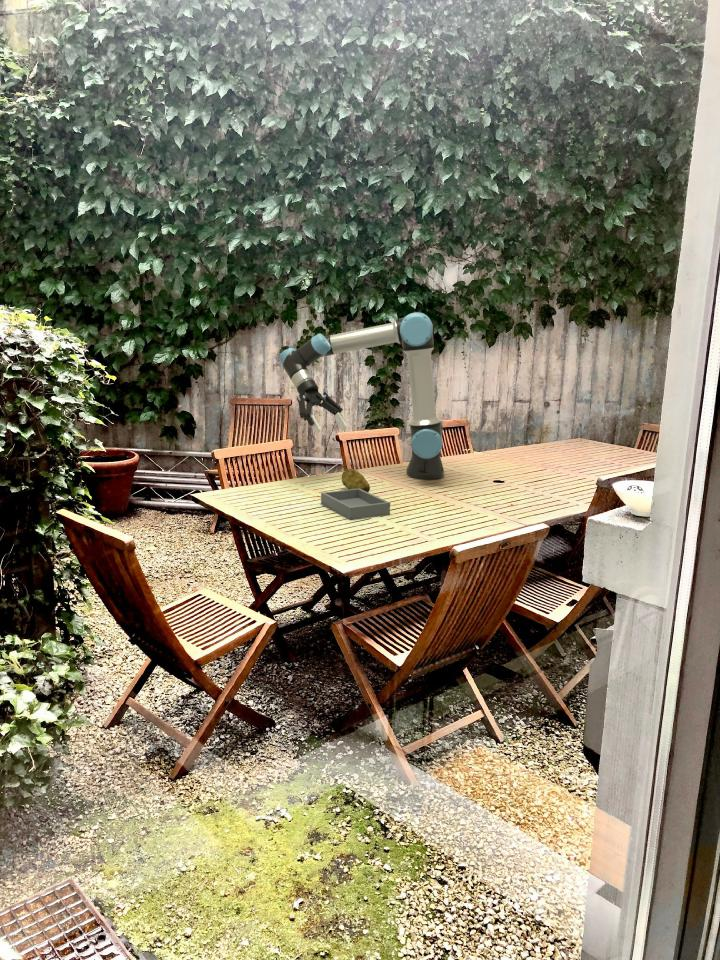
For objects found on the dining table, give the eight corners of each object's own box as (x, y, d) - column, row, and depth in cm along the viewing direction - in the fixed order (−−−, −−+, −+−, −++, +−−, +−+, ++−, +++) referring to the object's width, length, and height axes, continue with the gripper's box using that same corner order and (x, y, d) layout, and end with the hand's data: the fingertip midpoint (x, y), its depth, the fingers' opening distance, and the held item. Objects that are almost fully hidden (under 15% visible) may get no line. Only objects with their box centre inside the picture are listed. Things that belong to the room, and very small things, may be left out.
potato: (349, 497, 249) (350, 475, 247) (338, 488, 261) (339, 467, 259) (371, 496, 252) (372, 474, 250) (359, 487, 264) (360, 466, 262)
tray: (320, 504, 240) (321, 492, 239) (358, 499, 247) (359, 488, 246) (350, 519, 223) (350, 507, 222) (389, 514, 231) (390, 502, 230)
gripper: (323, 389, 277) (349, 432, 271) (275, 392, 259) (301, 439, 253) (333, 377, 272) (360, 421, 266) (285, 379, 254) (312, 427, 248)
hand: (331, 430), depth 259 cm, fingers open, 13 cm apart
